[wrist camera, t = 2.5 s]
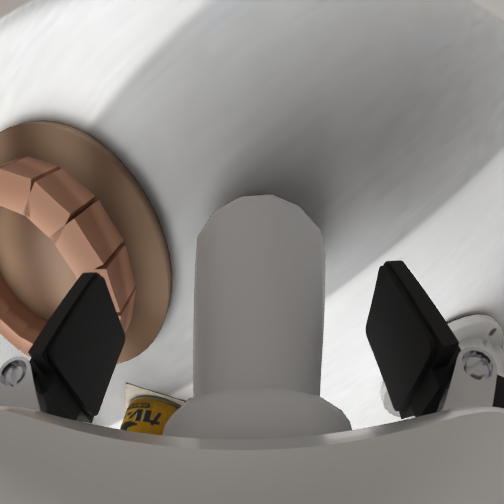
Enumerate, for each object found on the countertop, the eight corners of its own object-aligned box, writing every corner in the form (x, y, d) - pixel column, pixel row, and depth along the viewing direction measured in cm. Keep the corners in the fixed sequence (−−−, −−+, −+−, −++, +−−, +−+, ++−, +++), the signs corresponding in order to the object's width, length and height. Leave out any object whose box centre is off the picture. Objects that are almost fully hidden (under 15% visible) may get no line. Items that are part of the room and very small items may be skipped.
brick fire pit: (147, 87, 12) (116, 85, 9) (194, 365, 20) (186, 403, 17) (-47, 157, 13) (-78, 171, 10) (20, 342, 21) (3, 367, 18)
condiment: (126, 381, 22) (85, 504, 12) (221, 408, 23) (208, 536, 13) (126, 418, 26) (97, 516, 15) (204, 439, 27) (192, 541, 16)
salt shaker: (316, 179, 14) (463, 442, 3) (314, 279, 17) (366, 520, 5) (196, 186, 14) (51, 446, 3) (211, 284, 17) (163, 524, 6)
